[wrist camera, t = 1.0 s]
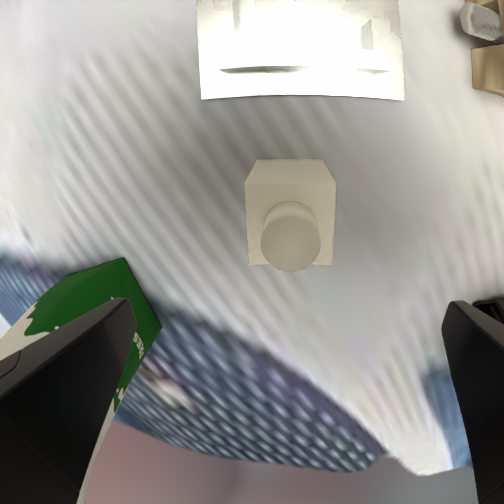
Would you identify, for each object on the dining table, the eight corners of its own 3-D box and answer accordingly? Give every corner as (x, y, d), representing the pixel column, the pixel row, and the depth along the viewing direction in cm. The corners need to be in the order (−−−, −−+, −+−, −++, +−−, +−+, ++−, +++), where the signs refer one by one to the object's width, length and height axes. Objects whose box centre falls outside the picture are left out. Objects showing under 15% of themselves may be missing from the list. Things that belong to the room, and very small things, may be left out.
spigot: (321, 220, 20) (337, 287, 13) (259, 220, 21) (243, 287, 14) (322, 159, 19) (343, 196, 12) (256, 159, 19) (237, 197, 12)
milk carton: (176, 333, 26) (87, 557, 8) (100, 343, 28) (6, 511, 11) (128, 242, 23) (-51, 471, 5) (54, 268, 25) (-87, 430, 7)
